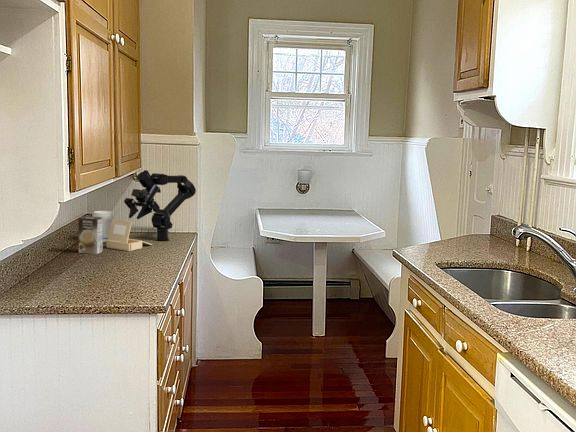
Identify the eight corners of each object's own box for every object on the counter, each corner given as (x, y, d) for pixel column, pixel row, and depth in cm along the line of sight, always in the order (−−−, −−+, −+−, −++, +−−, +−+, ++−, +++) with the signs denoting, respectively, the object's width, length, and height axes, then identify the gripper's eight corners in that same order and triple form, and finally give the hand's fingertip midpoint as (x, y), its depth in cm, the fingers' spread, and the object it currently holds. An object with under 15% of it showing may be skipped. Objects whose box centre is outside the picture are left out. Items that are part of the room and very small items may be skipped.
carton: (131, 242, 300) (131, 234, 299) (154, 245, 293) (154, 238, 292) (105, 247, 284) (105, 239, 284) (129, 251, 277) (129, 243, 277)
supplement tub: (89, 241, 298) (88, 212, 296) (101, 238, 307) (101, 210, 305) (105, 243, 295) (105, 213, 293) (117, 240, 304) (117, 211, 302)
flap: (112, 219, 284) (111, 219, 284) (131, 221, 279) (131, 221, 278) (108, 239, 283) (107, 239, 283) (127, 242, 277) (126, 242, 277)
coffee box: (77, 253, 270) (77, 217, 268) (84, 250, 277) (83, 215, 274) (97, 254, 270) (97, 218, 267) (103, 251, 276) (102, 216, 274)
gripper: (126, 181, 295) (110, 205, 287) (155, 184, 286) (140, 209, 278) (137, 196, 303) (122, 220, 295) (166, 199, 294) (151, 224, 286)
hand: (133, 218), depth 288 cm, fingers open, 5 cm apart
